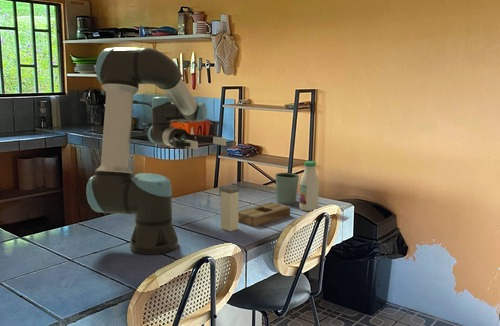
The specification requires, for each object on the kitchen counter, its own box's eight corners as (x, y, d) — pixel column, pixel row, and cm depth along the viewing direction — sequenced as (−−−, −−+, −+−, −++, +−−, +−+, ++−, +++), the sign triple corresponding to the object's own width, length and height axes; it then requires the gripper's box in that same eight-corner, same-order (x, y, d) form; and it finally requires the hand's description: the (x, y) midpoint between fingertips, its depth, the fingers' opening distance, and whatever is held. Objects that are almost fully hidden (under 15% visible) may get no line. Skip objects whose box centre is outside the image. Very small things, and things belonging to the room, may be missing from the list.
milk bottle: (317, 206, 207) (319, 160, 203) (318, 212, 199) (320, 163, 195) (299, 206, 207) (300, 159, 204) (299, 211, 200) (300, 163, 196)
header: (236, 220, 186) (236, 212, 186) (271, 210, 200) (271, 202, 200) (254, 226, 179) (255, 217, 179) (290, 215, 193) (290, 207, 193)
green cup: (271, 199, 218) (272, 173, 215) (292, 198, 221) (293, 172, 218) (279, 205, 208) (280, 177, 206) (301, 203, 211) (302, 176, 209)
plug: (220, 228, 178) (220, 187, 175) (228, 225, 180) (228, 186, 178) (230, 231, 174) (230, 190, 171) (238, 228, 177) (238, 188, 174)
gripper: (200, 144, 202) (236, 150, 188) (149, 150, 185) (184, 157, 170) (200, 126, 201) (236, 130, 186) (149, 130, 184) (184, 136, 169)
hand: (211, 143), depth 178 cm, fingers open, 13 cm apart
